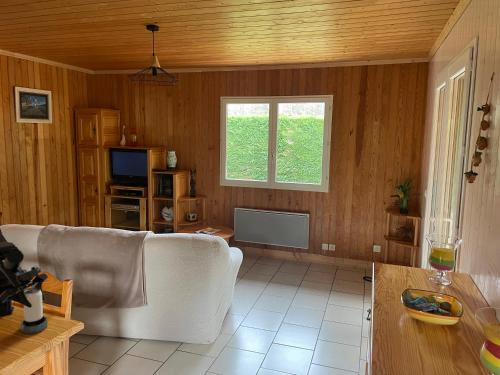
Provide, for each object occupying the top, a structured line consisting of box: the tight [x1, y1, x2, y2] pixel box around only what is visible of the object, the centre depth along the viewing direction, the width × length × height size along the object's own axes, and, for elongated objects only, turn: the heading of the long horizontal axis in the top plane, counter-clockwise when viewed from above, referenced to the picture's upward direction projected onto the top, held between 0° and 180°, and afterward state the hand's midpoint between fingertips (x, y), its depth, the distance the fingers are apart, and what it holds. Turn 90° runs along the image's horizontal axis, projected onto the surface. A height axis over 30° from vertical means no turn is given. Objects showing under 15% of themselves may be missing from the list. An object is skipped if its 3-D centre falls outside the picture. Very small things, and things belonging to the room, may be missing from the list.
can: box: [23, 287, 44, 322], centre depth 149 cm, size 6×6×12 cm
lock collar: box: [20, 315, 48, 335], centre depth 151 cm, size 9×9×3 cm
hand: (37, 303), depth 149 cm, fingers closed on can, 6 cm apart
